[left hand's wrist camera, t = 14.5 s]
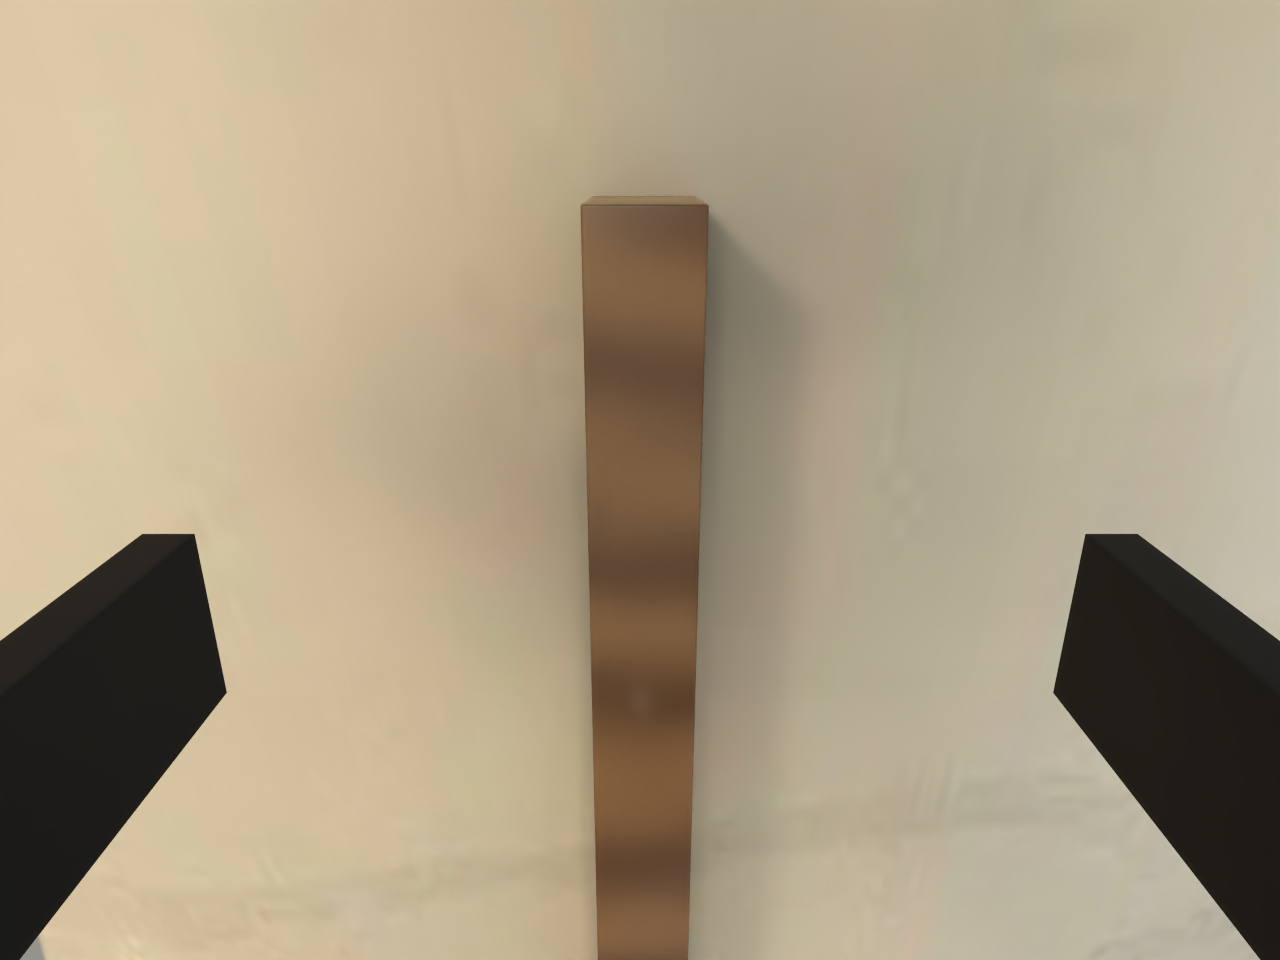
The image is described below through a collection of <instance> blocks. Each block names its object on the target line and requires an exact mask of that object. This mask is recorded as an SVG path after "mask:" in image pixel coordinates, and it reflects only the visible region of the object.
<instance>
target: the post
mask: <svg viewBox="0 0 1280 960" xmlns="http://www.w3.org/2000/svg"><path fill="white" fill-rule="evenodd" d="M708 212H709V206H708V205H707V204H706V203H704V202H703V201H701V200H700V199H698V198H697V197H686V196H593V197H591V198H590V199H589V200H587V201H586V202H585V203H583V204H582V205H581V242H582V285H583V329H584V372H585V416H586V459H587V503H588V546H589V590H590V633H591V677H592V720H593V764H594V807H595V851H596V894H597V938H598V960H688V935H689V899H690V862H691V826H692V790H693V754H694V718H695V682H696V646H697V609H698V573H699V537H700V501H701V465H702V429H703V392H704V356H705V320H706V284H707V248H708Z"/></svg>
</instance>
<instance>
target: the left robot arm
mask: <svg viewBox="0 0 1280 960" xmlns="http://www.w3.org/2000/svg"><path fill="white" fill-rule="evenodd" d="M226 693H227V692H226V687H225V682H224V677H223V672H222V667H221V662H220V657H219V652H218V648H217V643H216V638H215V633H214V628H213V623H212V618H211V613H210V608H209V603H208V598H207V593H206V588H205V584H204V579H203V574H202V569H201V564H200V559H199V554H198V549H197V544H196V539H195V534H142V535H141V536H139V537H138V538H137V539H135V540H134V541H133V542H131V543H130V544H129V545H127V546H126V547H125V548H123V549H122V550H121V551H119V552H118V553H117V554H115V555H114V556H113V557H111V558H110V559H109V560H107V561H106V562H105V563H103V564H102V565H101V566H99V567H98V568H97V569H95V570H94V571H93V572H91V573H90V574H89V575H87V576H86V577H85V578H83V579H82V580H81V581H79V582H78V583H77V584H75V585H74V586H73V587H71V588H70V589H69V590H67V591H66V592H65V593H63V594H62V595H61V596H59V597H58V598H57V599H55V600H54V601H53V602H51V603H50V604H49V605H47V606H46V607H45V608H43V609H42V610H41V611H40V612H38V613H37V614H36V615H34V616H33V617H32V618H30V619H29V620H28V621H26V622H25V623H24V624H22V625H21V626H20V627H18V628H17V629H16V630H14V631H13V632H12V633H10V634H9V635H8V636H6V637H5V638H4V639H2V640H1V641H0V960H20V958H21V957H22V956H23V954H24V953H25V952H26V951H27V949H28V948H29V947H30V945H31V944H32V943H33V942H34V940H35V939H36V938H37V936H38V935H39V934H40V933H41V931H42V930H43V929H44V927H45V926H46V925H47V924H48V922H49V921H50V920H51V918H52V917H53V916H54V915H55V913H56V912H57V911H58V909H59V908H60V907H61V906H62V904H63V903H64V902H65V900H66V899H67V898H68V897H69V895H70V894H71V893H72V891H73V890H74V889H75V887H76V886H77V885H78V884H79V882H80V881H81V880H82V878H83V877H84V876H85V875H86V873H87V872H88V871H89V869H90V868H91V867H92V866H93V864H94V863H95V862H96V860H97V859H98V858H99V857H100V855H101V854H102V853H103V851H104V850H105V849H106V848H107V846H108V845H109V844H110V842H111V841H112V840H113V838H114V837H115V836H116V835H117V833H118V832H119V831H120V829H121V828H122V827H123V826H124V824H125V823H126V822H127V820H128V819H129V818H130V817H131V815H132V814H133V813H134V811H135V810H136V809H137V808H138V806H139V805H140V804H141V802H142V801H143V800H144V799H145V797H146V796H147V795H148V793H149V792H150V791H151V790H152V788H153V787H154V786H155V784H156V783H157V782H158V780H159V779H160V778H161V777H162V775H163V774H164V773H165V771H166V770H167V769H168V768H169V766H170V765H171V764H172V762H173V761H174V760H175V759H176V757H177V756H178V755H179V753H180V752H181V751H182V750H183V748H184V747H185V746H186V744H187V743H188V742H189V741H190V739H191V738H192V737H193V735H194V734H195V733H196V732H197V730H198V729H199V728H200V726H201V725H202V724H203V722H204V721H205V720H206V719H207V717H208V716H209V715H210V713H211V712H212V711H213V710H214V708H215V707H216V706H217V704H218V703H219V702H220V701H221V699H222V698H223V697H224V695H225V694H226ZM1053 693H1054V694H1055V695H1056V697H1057V698H1058V699H1059V701H1060V702H1061V703H1062V704H1063V706H1064V707H1065V708H1066V710H1067V711H1068V712H1069V713H1070V715H1071V716H1072V717H1073V719H1074V720H1075V721H1076V722H1077V724H1078V725H1079V726H1080V728H1081V729H1082V730H1083V732H1084V733H1085V734H1086V735H1087V737H1088V738H1089V739H1090V741H1091V742H1092V743H1093V744H1094V746H1095V747H1096V748H1097V750H1098V751H1099V752H1100V753H1101V755H1102V756H1103V757H1104V759H1105V760H1106V761H1107V762H1108V764H1109V765H1110V766H1111V768H1112V769H1113V770H1114V771H1115V773H1116V774H1117V775H1118V777H1119V778H1120V779H1121V780H1122V782H1123V783H1124V784H1125V786H1126V787H1127V788H1128V790H1129V791H1130V792H1131V793H1132V795H1133V796H1134V797H1135V799H1136V800H1137V801H1138V802H1139V804H1140V805H1141V806H1142V808H1143V809H1144V810H1145V811H1146V813H1147V814H1148V815H1149V817H1150V818H1151V819H1152V820H1153V822H1154V823H1155V824H1156V826H1157V827H1158V828H1159V829H1160V831H1161V832H1162V833H1163V835H1164V836H1165V837H1166V838H1167V840H1168V841H1169V842H1170V844H1171V845H1172V846H1173V848H1174V849H1175V850H1176V851H1177V853H1178V854H1179V855H1180V857H1181V858H1182V859H1183V860H1184V862H1185V863H1186V864H1187V866H1188V867H1189V868H1190V869H1191V871H1192V872H1193V873H1194V875H1195V876H1196V877H1197V878H1198V880H1199V881H1200V882H1201V884H1202V885H1203V886H1204V887H1205V889H1206V890H1207V891H1208V893H1209V894H1210V895H1211V897H1212V898H1213V899H1214V900H1215V902H1216V903H1217V904H1218V906H1219V907H1220V908H1221V909H1222V911H1223V912H1224V913H1225V915H1226V916H1227V917H1228V918H1229V920H1230V921H1231V922H1232V924H1233V925H1234V926H1235V927H1236V929H1237V930H1238V931H1239V933H1240V934H1241V935H1242V936H1243V938H1244V939H1245V940H1246V942H1247V943H1248V944H1249V945H1250V947H1251V948H1252V949H1253V951H1254V952H1255V953H1256V955H1257V956H1258V957H1259V958H1260V960H1280V641H1279V640H1278V639H1276V638H1275V637H1274V636H1272V635H1271V634H1270V633H1268V632H1267V631H1266V630H1264V629H1263V628H1262V627H1260V626H1259V625H1258V624H1256V623H1255V622H1254V621H1252V620H1251V619H1250V618H1248V617H1247V616H1246V615H1244V614H1243V613H1242V612H1240V611H1239V610H1238V609H1237V608H1235V607H1234V606H1233V605H1231V604H1230V603H1229V602H1227V601H1226V600H1225V599H1223V598H1222V597H1221V596H1219V595H1218V594H1217V593H1215V592H1214V591H1213V590H1211V589H1210V588H1209V587H1207V586H1206V585H1205V584H1203V583H1202V582H1201V581H1199V580H1198V579H1197V578H1195V577H1194V576H1193V575H1191V574H1190V573H1189V572H1187V571H1186V570H1185V569H1183V568H1182V567H1181V566H1179V565H1178V564H1177V563H1175V562H1174V561H1173V560H1171V559H1170V558H1169V557H1167V556H1166V555H1165V554H1163V553H1162V552H1161V551H1159V550H1158V549H1157V548H1155V547H1154V546H1153V545H1151V544H1150V543H1149V542H1147V541H1146V540H1145V539H1143V538H1142V537H1141V536H1139V535H1138V534H1085V539H1084V544H1083V549H1082V554H1081V559H1080V564H1079V569H1078V574H1077V579H1076V584H1075V588H1074V593H1073V598H1072V603H1071V608H1070V613H1069V618H1068V623H1067V628H1066V633H1065V638H1064V643H1063V648H1062V652H1061V657H1060V662H1059V667H1058V672H1057V677H1056V682H1055V687H1054V692H1053Z"/></svg>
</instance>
